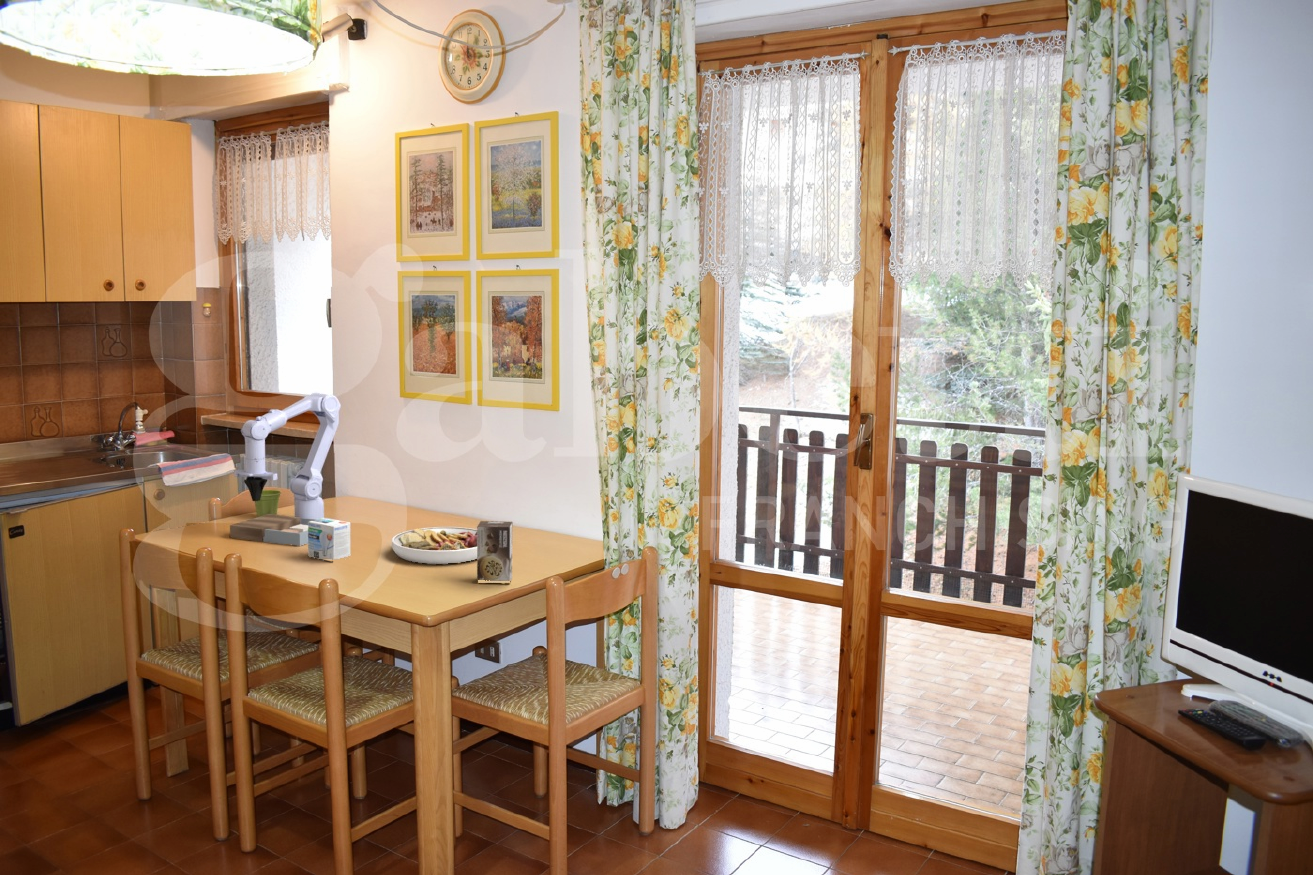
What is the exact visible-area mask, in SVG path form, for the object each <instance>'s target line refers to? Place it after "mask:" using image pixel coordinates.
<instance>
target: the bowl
mask: <svg viewBox="0 0 1313 875" xmlns="http://www.w3.org/2000/svg"><path fill="white" fill-rule="evenodd" d="M391 547H392V550H393V552H394V553H395V554H396V556H398V557H399V558H401V559H403V560H405V561H409V562H411V561H412V563H415V562H418V563H417V564H422V563H427V564H426V565H436V564H443V565H449V564H448V563H458V562H465V561H470V562H472V561H471V560H474V559H477V528H469V527H459V526H435V527H434V526H433V527H421V528H419V527H418V528H414V529H410V530H406V531H405V530H404V531H403V532H400V533H397V534H395V535H394V536H393V537H392V538H391ZM474 561H475V560H474ZM465 563H466V562H465ZM458 564H459V563H458Z"/></svg>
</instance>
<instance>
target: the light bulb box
mask: <svg viewBox="0 0 1313 875" xmlns="http://www.w3.org/2000/svg"><path fill="white" fill-rule="evenodd" d="M307 545H308V546H307V547H308V549H307V551H308V552H307V554H308V556H310V557H309V558H311V557H315V558H319V559H332V560H334V559H340V558H344V557H348V556H351V522H350V521H345V520H338V519H333V518H329V517H324V518H322V519H318V520H314V521H309V522H308V544H307ZM308 556H307V557H308ZM315 558H314V559H315ZM319 559H318V560H319Z"/></svg>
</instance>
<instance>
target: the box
mask: <svg viewBox="0 0 1313 875" xmlns="http://www.w3.org/2000/svg"><path fill="white" fill-rule="evenodd" d="M314 520H318V519H309V518H301V524H302V525H308V522H309V521H314ZM287 530H290V529H287ZM268 542H270V544H276V543H277V544H278V545H284V544H292V545H298V546H297V547H302V546H301V545H303V546H305V545H304V544H306V545H308V530H307V531H304V532H301V533H295V532H287V531H279V530H270V529H265V537H263V543H268ZM292 545H291V546H292Z"/></svg>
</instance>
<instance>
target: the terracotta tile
mask: <svg viewBox="0 0 1313 875" xmlns="http://www.w3.org/2000/svg"><path fill="white" fill-rule="evenodd" d="M281 531H287V532H295V533H299V532H298V531H295V530H287V529H284V530H281Z"/></svg>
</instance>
